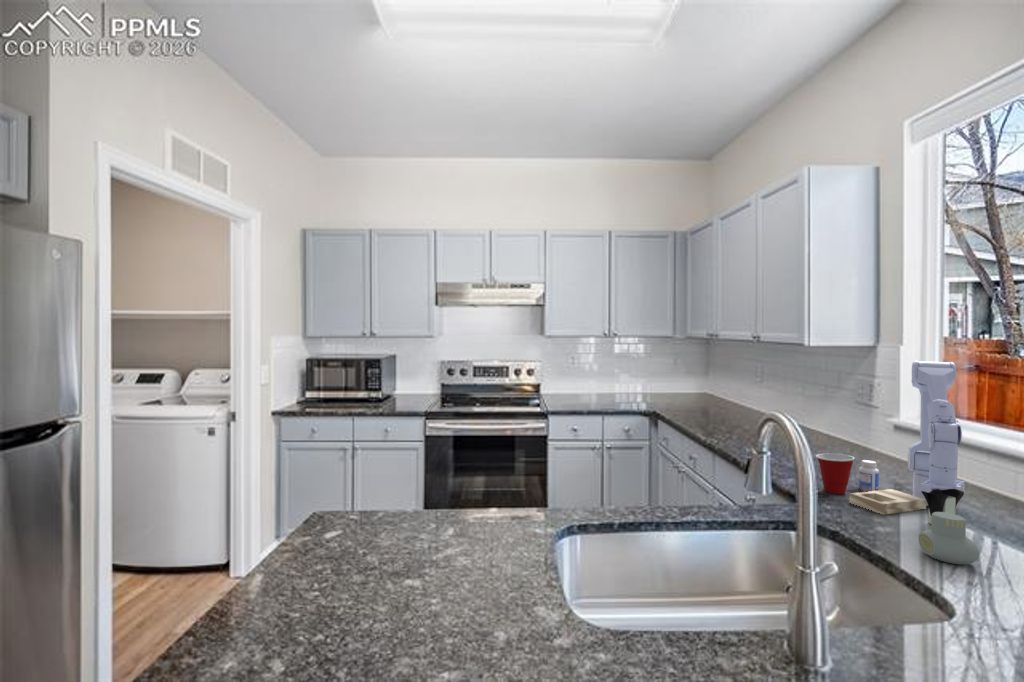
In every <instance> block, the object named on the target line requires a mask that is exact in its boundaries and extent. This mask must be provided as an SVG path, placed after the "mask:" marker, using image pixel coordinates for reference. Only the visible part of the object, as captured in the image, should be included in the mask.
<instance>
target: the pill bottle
mask: <svg viewBox="0 0 1024 682" xmlns="http://www.w3.org/2000/svg"><path fill="white" fill-rule="evenodd" d="M859 488H860V489H862V490H865V491H878V490H880V470H879V468H877V462H876V461H874V460H868V459H862V460H861V466H860V467H858V489H859ZM860 489H859V490H860ZM862 490H861V491H862ZM865 491H864V492H865Z"/></svg>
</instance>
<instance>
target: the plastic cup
mask: <svg viewBox="0 0 1024 682" xmlns="http://www.w3.org/2000/svg"><path fill="white" fill-rule="evenodd" d="M815 457H816V459H817V461H818V464H819V469H820V474H821V480H822V485H823V486H822V487H823V489H824V492H826V491H827V492H826V493H829V494H834V495H845V494H846V492H847V487H848V484H849V480H850V476H851V471H852V467H853V463H854V461H855V459H856V458H855V457H854V456H852V455H850V454H849V455H848V454H843V453H842V454H840V453H829V452H827V453H817V454H815Z"/></svg>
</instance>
